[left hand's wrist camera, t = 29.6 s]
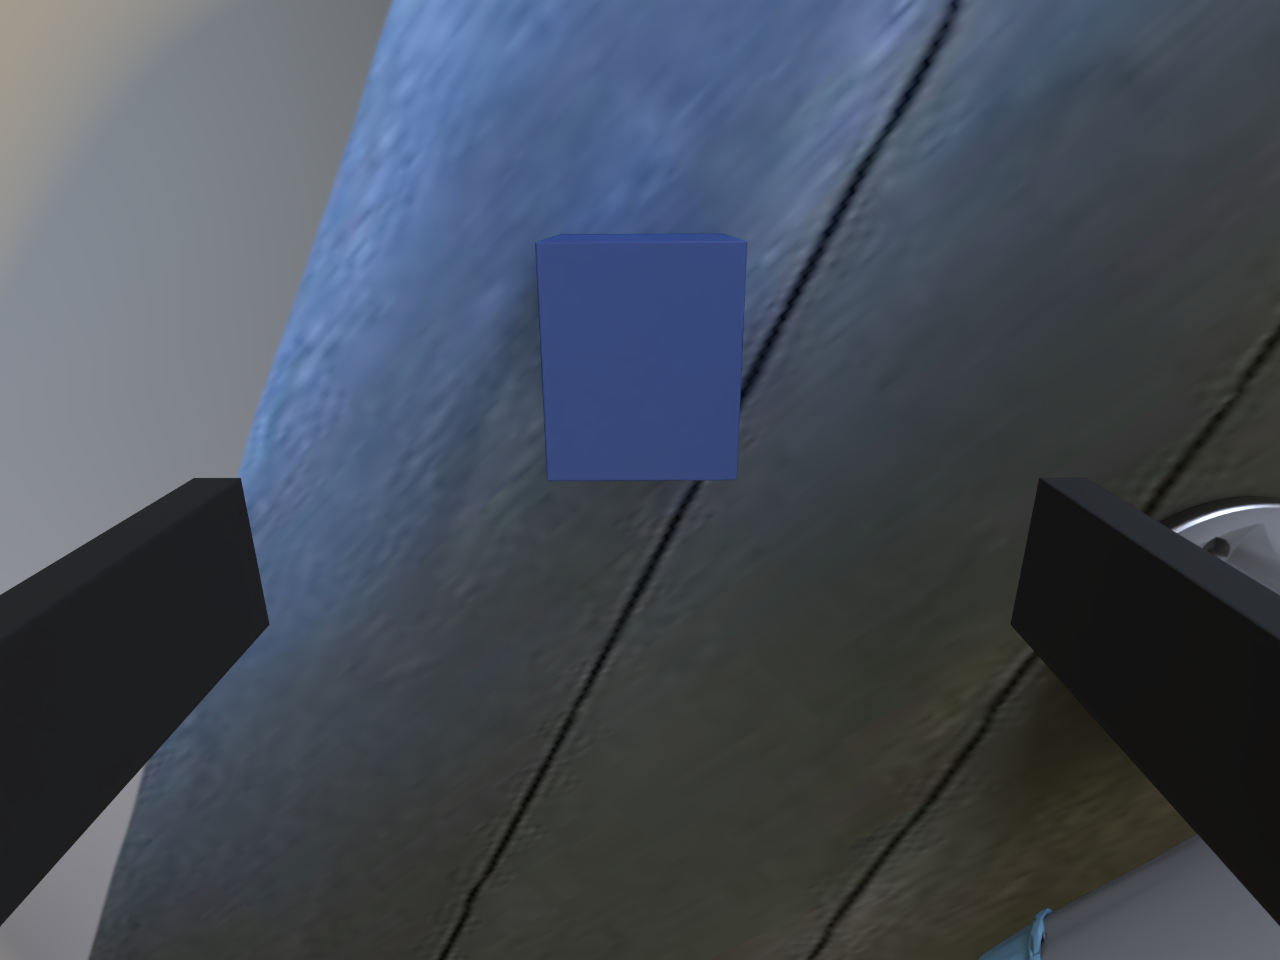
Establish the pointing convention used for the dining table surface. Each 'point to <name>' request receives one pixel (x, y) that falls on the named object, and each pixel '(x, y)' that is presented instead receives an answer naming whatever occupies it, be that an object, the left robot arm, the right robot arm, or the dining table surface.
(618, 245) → the brick
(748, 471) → the dining table surface
